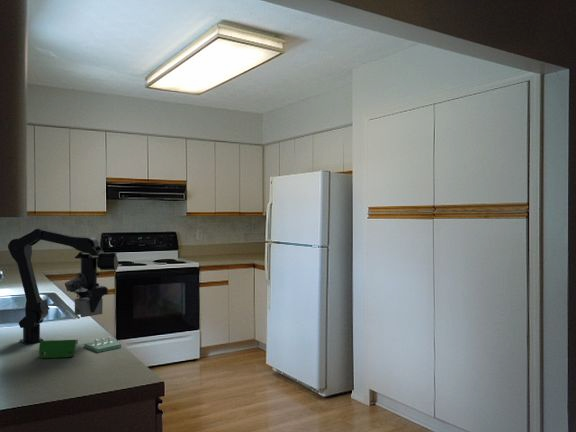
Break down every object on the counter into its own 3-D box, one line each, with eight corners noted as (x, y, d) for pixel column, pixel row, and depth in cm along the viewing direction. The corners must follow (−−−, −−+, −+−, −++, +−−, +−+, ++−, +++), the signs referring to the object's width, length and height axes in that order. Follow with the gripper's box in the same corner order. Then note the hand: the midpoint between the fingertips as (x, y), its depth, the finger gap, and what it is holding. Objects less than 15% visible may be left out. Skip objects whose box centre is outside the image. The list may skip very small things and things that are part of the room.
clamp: (71, 366, 174) (83, 341, 177) (66, 367, 169) (79, 341, 171) (38, 353, 173) (51, 328, 176) (32, 354, 168) (46, 328, 170)
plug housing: (74, 314, 189) (74, 298, 189) (94, 311, 195) (94, 296, 195) (82, 317, 185) (82, 301, 185) (102, 313, 191) (102, 298, 191)
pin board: (84, 346, 183) (84, 338, 183) (107, 342, 189) (107, 333, 189) (97, 352, 176) (97, 343, 176) (121, 347, 183) (121, 338, 183)
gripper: (56, 269, 190) (56, 310, 190) (79, 274, 177) (79, 318, 178) (84, 267, 198) (84, 306, 198) (108, 271, 186) (108, 313, 186)
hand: (88, 311), depth 190 cm, fingers closed on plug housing, 6 cm apart
